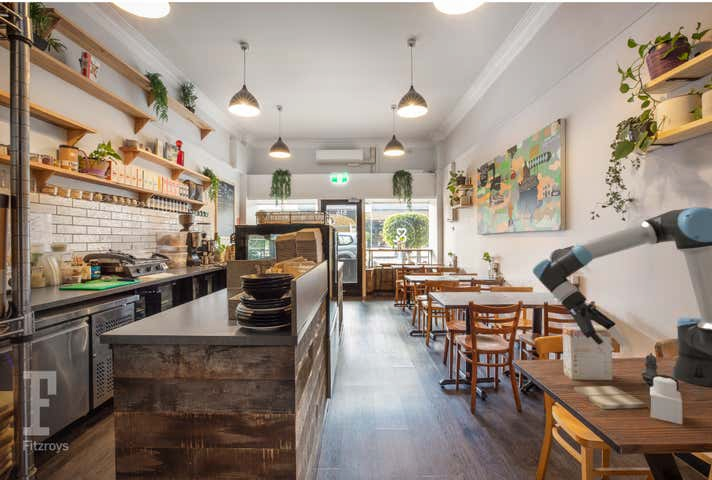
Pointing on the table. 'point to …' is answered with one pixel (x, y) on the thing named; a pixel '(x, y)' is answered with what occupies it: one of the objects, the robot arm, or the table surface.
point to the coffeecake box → (585, 355)
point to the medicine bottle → (665, 399)
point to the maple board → (609, 397)
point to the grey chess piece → (649, 370)
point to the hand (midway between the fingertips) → (618, 348)
